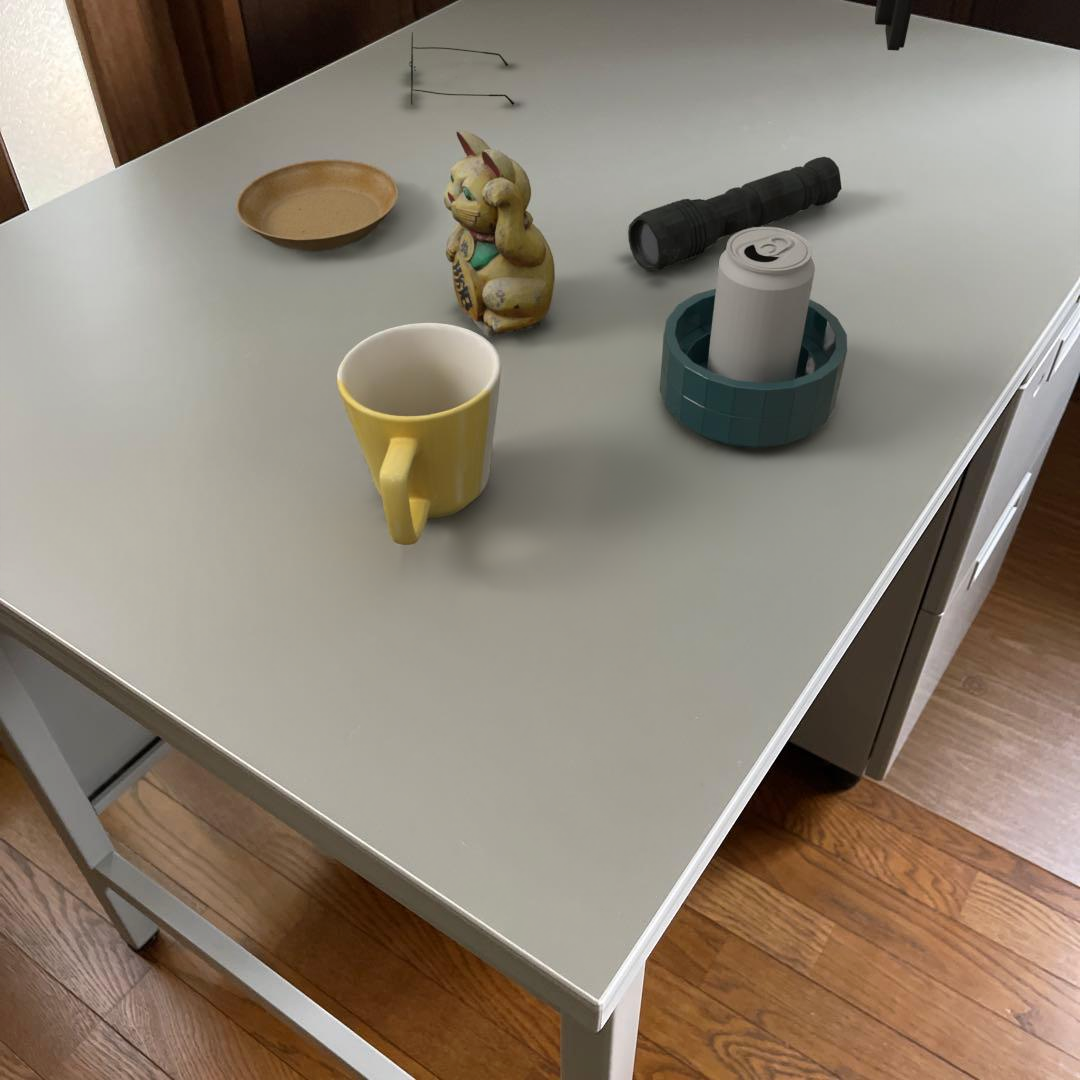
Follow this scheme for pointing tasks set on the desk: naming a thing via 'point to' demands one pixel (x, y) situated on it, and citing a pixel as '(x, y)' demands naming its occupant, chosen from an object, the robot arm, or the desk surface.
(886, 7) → the robot arm
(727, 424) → the bowl
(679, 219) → the flashlight
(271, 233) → the plant saucer
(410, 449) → the mug
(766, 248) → the beverage can
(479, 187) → the decorative figurine
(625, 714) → the desk surface
